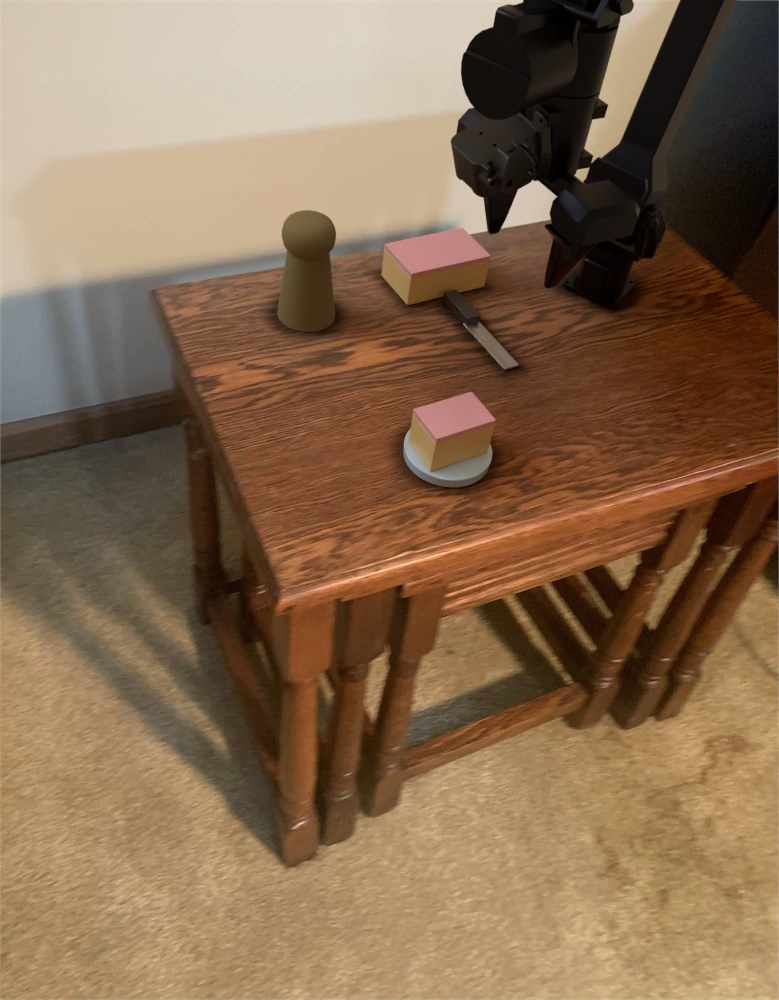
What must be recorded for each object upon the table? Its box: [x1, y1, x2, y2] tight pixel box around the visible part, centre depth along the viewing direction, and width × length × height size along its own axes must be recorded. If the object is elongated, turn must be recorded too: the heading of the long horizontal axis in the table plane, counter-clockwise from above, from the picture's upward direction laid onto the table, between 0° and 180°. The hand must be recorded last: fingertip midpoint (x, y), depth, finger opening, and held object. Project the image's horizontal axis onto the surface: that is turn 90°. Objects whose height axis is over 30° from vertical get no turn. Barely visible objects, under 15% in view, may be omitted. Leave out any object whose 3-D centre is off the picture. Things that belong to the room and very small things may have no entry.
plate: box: [402, 429, 493, 488], centre depth 75 cm, size 8×8×1 cm
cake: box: [381, 227, 492, 306], centre depth 92 cm, size 6×10×4 cm, turn 118°
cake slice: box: [409, 391, 497, 471], centre depth 73 cm, size 4×6×4 cm, turn 118°
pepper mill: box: [276, 209, 337, 333], centre depth 83 cm, size 6×6×11 cm
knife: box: [442, 290, 520, 372], centre depth 88 cm, size 2×12×1 cm, turn 28°
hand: (520, 259), depth 76 cm, fingers open, 9 cm apart
